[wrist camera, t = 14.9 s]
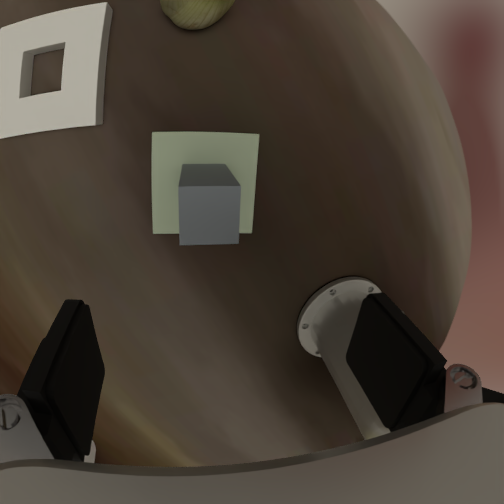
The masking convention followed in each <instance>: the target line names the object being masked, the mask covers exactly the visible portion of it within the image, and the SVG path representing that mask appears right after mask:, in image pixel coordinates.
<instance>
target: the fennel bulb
mask: <svg viewBox="0 0 504 504" xmlns="http://www.w3.org/2000/svg"><path fill="white" fill-rule="evenodd" d="M234 2H235V0H160V3H161V7H162V10H163V12H164V13H165V14H166V15H167V16H168V17H169V18H170V19H171V20H172V21H173V23H174V24H175V25H177V26H178V27H180V28H183V29H187V30H199V29H204V28H206V27H208V26H211V25H212V24H214V23H215V22H217V21H218V20H219V19H220V18H221V17H222V16H223V15H224V14H225V13H226V12H227V11H228V10H229V9H230V8H231V6H232V5H233V3H234Z"/></svg>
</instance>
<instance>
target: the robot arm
mask: <svg viewBox="0 0 504 504" xmlns="http://www.w3.org/2000/svg"><path fill="white" fill-rule="evenodd" d="M297 335H298V339H299V341H300V343H301V345H302V346H303V348H304V349H305V350H306V351H307V352H309V353H310V354H312V355H314V356H317V357H322V359H323V361H324V363H325V364H326V366H327V368H328V370H329V372H330V374H331V376H332V378H333V380H334V382H335V383H336V385H337V387H338V389H339V391H340V393H341V395H342V397H343V399H344V401H345V403H346V404H347V406H348V408H349V410H350V412H351V414H352V416H353V418H354V420H355V422H356V424H357V426H358V428H359V430H360V432H361V433H362V435H363V437H364V438H365V440H364V441H360V442H357V443H353V444H349V445H345V446H341V447H337V448H333V449H328V450H324V451H319V452H315V453H310V454H304V455H299V456H294V457H288V458H281V459H275V460H268V461H260V462H252V463H243V464H232V465H219V466H202V467H144V466H122V465H109V464H98V463H89V462H84V457H85V455H86V456H88V455H89V454H90V450H91V443H92V437H93V431H94V425H95V419H96V414H97V409H98V404H99V399H100V394H101V389H102V384H103V380H104V375H105V368H104V363H103V360H102V356H101V353H100V349H99V345H98V341H97V337H96V333H95V329H94V325H93V321H92V316H91V312H90V308H89V305H85V304H84V302H83V301H82V300H70V299H67V300H65V302H64V303H63V305H62V307H61V309H60V311H59V313H58V314H57V316H56V318H55V320H54V322H53V324H52V326H51V328H50V330H49V332H48V334H47V336H46V338H44V339H43V340H42V341H41V343H40V345H39V347H38V349H37V351H36V354H35V356H34V358H33V360H32V362H31V364H30V366H29V369H28V371H27V373H26V375H25V378H24V380H23V382H22V385H21V387H20V389H19V392H18V394H17V396H16V395H12V394H4V395H0V504H504V394H502V393H499V392H496V391H493V390H490V389H487V388H483V387H482V386H481V380H480V377H479V375H478V374H477V373H476V372H475V371H474V370H473V369H472V368H470V367H468V366H466V365H463V364H453V365H451V366H449V367H448V369H447V370H446V369H445V368H444V365H445V364H446V362H447V360H446V359H445V358H444V357H443V355H442V354H441V353H440V352H439V351H438V350H437V349H436V348H435V347H434V345H433V344H432V343H431V342H430V341H429V340H428V339H427V338H426V337H425V336H424V334H423V333H422V332H421V331H420V330H419V329H418V328H417V327H416V326H415V325H414V324H413V323H412V321H411V320H410V319H409V318H408V317H407V316H406V315H405V314H404V312H403V311H402V310H400V309H399V308H398V307H397V306H396V305H395V304H394V303H393V301H392V300H391V299H390V298H389V297H388V296H387V295H386V294H384V293H382V292H381V290H380V289H379V288H378V287H377V286H376V285H375V284H374V283H373V282H371V281H370V280H368V279H365V278H362V277H346V278H341V279H338V280H336V281H333V282H331V283H329V284H327V285H326V286H324V287H322V288H321V289H320V290H318V291H317V292H316V293H315V294H314V295H313V296H312V297H311V298H310V299H309V300H308V301H307V303H306V304H305V306H304V307H303V309H302V311H301V313H300V315H299V318H298V322H297Z"/></svg>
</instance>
